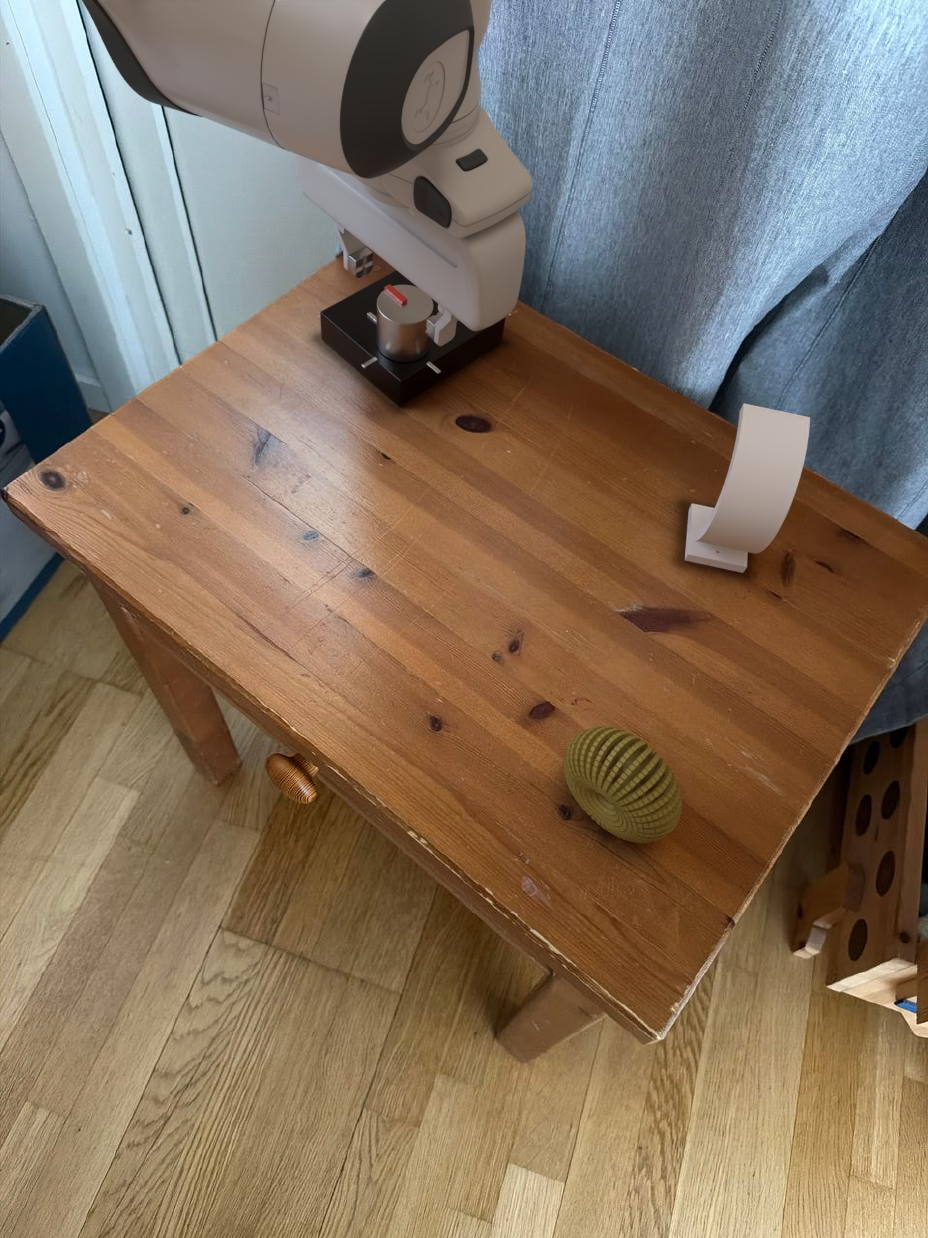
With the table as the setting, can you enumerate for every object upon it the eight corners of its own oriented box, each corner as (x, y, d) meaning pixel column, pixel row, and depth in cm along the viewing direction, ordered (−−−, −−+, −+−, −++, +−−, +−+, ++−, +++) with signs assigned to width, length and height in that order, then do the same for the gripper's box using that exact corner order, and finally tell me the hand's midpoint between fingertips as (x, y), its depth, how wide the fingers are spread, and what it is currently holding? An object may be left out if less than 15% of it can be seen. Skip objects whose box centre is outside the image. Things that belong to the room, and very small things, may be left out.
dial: (441, 346, 73) (445, 304, 69) (401, 370, 71) (402, 328, 68) (405, 316, 75) (407, 273, 71) (365, 339, 73) (365, 296, 69)
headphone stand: (745, 521, 71) (810, 417, 61) (742, 584, 68) (810, 485, 58) (688, 509, 71) (743, 402, 61) (682, 571, 68) (740, 470, 58)
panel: (398, 424, 73) (399, 397, 70) (309, 346, 76) (307, 316, 73) (512, 351, 78) (517, 322, 75) (424, 280, 81) (426, 251, 79)
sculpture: (540, 783, 59) (563, 736, 52) (580, 743, 60) (607, 692, 53) (634, 871, 56) (671, 834, 49) (672, 827, 58) (714, 786, 51)
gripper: (266, 69, 59) (281, 248, 71) (482, 232, 53) (458, 397, 65) (339, 41, 62) (341, 218, 74) (553, 193, 56) (518, 359, 68)
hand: (398, 303), depth 70 cm, fingers open, 8 cm apart
